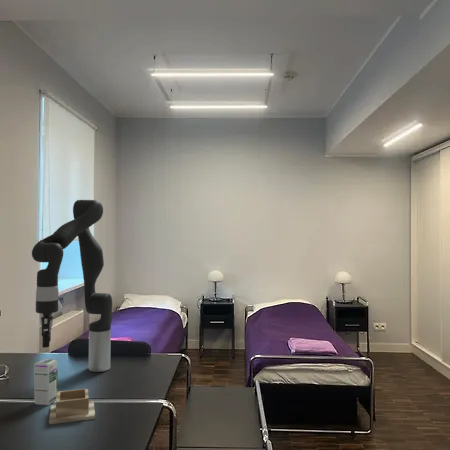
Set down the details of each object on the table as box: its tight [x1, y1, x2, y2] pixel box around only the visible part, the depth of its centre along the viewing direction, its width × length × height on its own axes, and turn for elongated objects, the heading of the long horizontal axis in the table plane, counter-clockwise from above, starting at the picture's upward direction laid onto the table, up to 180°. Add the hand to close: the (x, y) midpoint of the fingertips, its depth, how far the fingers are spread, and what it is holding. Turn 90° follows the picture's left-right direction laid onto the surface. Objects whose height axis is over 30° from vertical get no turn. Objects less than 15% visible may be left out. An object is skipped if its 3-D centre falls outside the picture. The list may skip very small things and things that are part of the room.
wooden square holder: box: [48, 387, 96, 425], centre depth 149 cm, size 14×14×6 cm
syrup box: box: [33, 358, 59, 406], centre depth 158 cm, size 6×6×14 cm
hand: (46, 344), depth 158 cm, fingers open, 8 cm apart
